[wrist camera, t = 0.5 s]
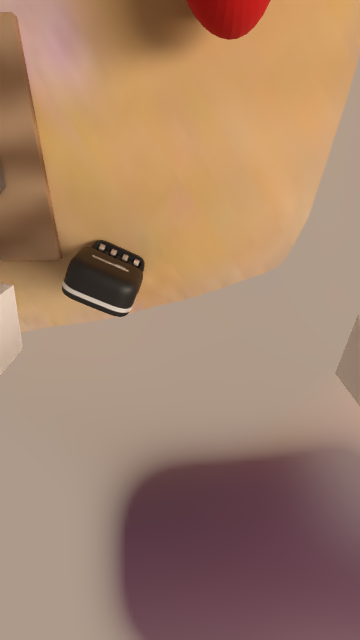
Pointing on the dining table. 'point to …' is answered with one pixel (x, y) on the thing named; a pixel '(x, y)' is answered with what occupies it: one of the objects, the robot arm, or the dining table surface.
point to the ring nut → (1, 181)
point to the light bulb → (228, 15)
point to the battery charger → (104, 278)
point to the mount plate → (21, 160)
